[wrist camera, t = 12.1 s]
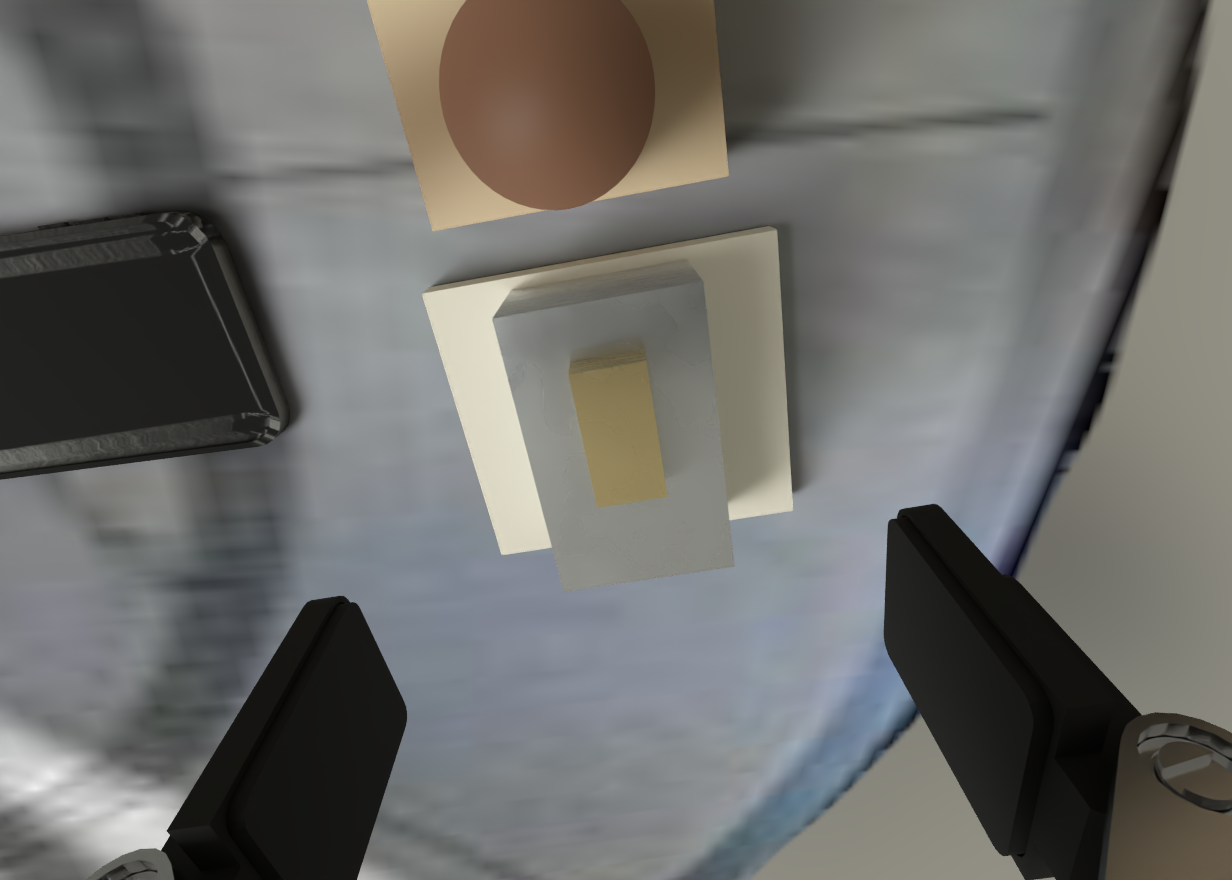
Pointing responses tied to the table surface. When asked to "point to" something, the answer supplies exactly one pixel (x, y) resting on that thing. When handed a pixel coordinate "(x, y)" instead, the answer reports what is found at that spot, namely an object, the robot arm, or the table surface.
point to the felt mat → (741, 361)
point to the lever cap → (620, 422)
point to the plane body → (552, 100)
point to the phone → (128, 347)
